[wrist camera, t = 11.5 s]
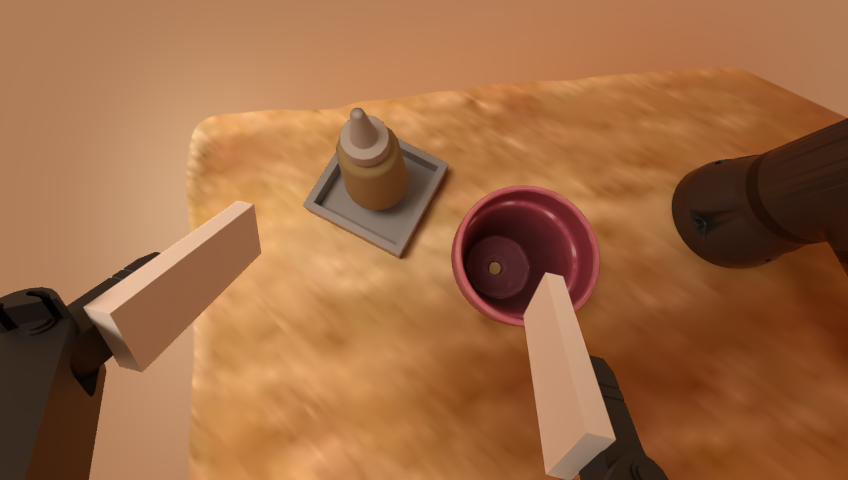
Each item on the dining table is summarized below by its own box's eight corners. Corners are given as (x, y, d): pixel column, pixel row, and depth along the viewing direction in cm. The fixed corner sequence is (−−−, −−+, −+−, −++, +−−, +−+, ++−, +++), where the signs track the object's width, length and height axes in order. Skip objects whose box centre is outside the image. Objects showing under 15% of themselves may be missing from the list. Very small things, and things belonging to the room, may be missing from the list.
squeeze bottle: (421, 191, 44) (426, 117, 26) (377, 230, 43) (352, 179, 25) (382, 151, 45) (362, 54, 27) (338, 188, 44) (287, 111, 26)
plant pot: (518, 201, 45) (559, 162, 33) (566, 294, 43) (629, 290, 30) (426, 241, 44) (431, 215, 31) (470, 338, 41) (495, 354, 29)
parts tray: (446, 172, 46) (448, 163, 43) (399, 259, 43) (398, 255, 40) (360, 130, 47) (357, 118, 44) (309, 212, 44) (302, 205, 41)
